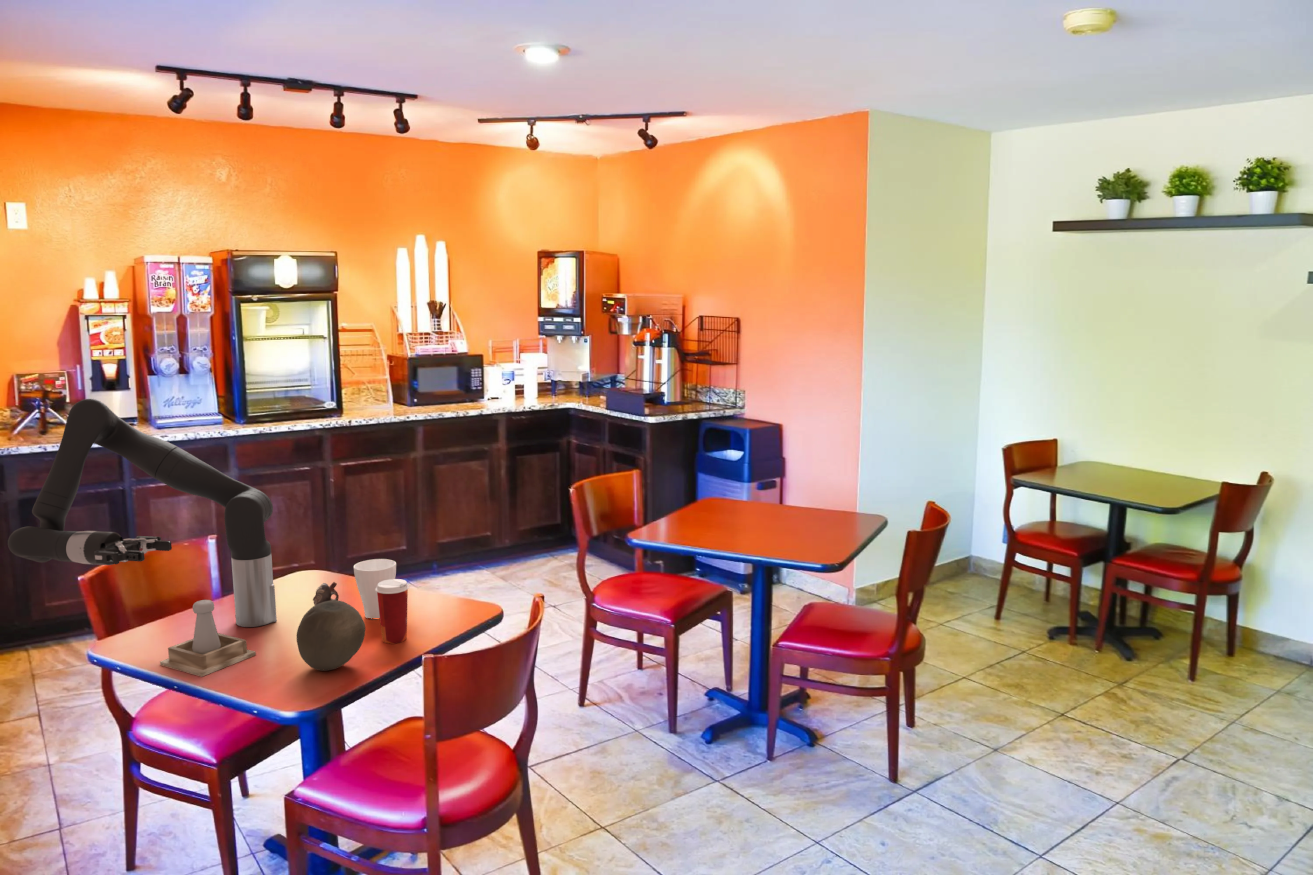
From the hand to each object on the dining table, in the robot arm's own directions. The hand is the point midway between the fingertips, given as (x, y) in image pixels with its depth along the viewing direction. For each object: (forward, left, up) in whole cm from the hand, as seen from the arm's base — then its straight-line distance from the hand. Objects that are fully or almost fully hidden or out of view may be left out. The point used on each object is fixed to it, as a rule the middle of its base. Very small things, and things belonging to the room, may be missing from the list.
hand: (157, 550), depth 212 cm
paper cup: (-48, +14, -25) cm, 56 cm away
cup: (-48, -5, -25) cm, 55 cm away
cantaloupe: (-32, +25, -25) cm, 48 cm away
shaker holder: (-8, +7, -25) cm, 27 cm away
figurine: (-35, 0, -25) cm, 43 cm away
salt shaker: (-8, +7, -24) cm, 27 cm away
